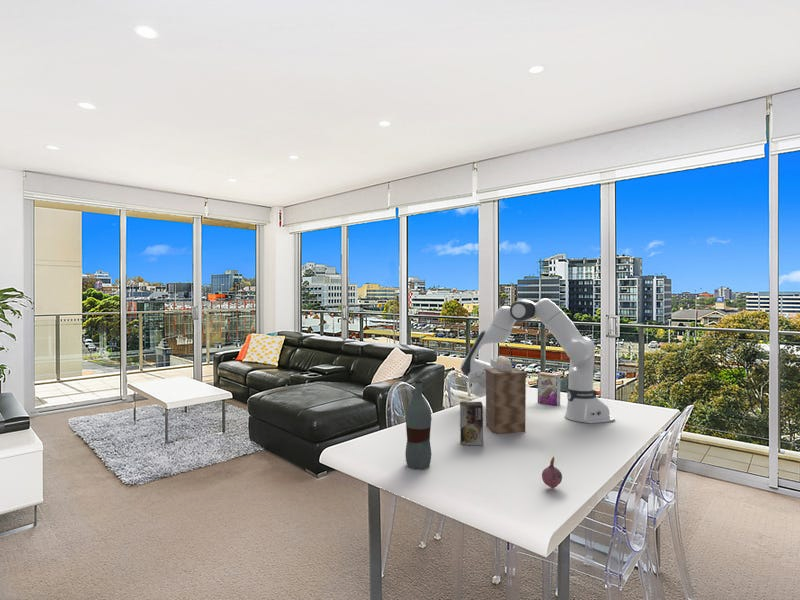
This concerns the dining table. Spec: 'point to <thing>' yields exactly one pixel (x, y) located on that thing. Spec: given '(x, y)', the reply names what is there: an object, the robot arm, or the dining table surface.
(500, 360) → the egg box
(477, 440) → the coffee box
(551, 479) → the vegetable
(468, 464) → the dining table surface
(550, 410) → the dining table surface
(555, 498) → the dining table surface
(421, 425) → the bottle
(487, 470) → the dining table surface
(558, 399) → the candy bar box
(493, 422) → the lidded wooden crate
